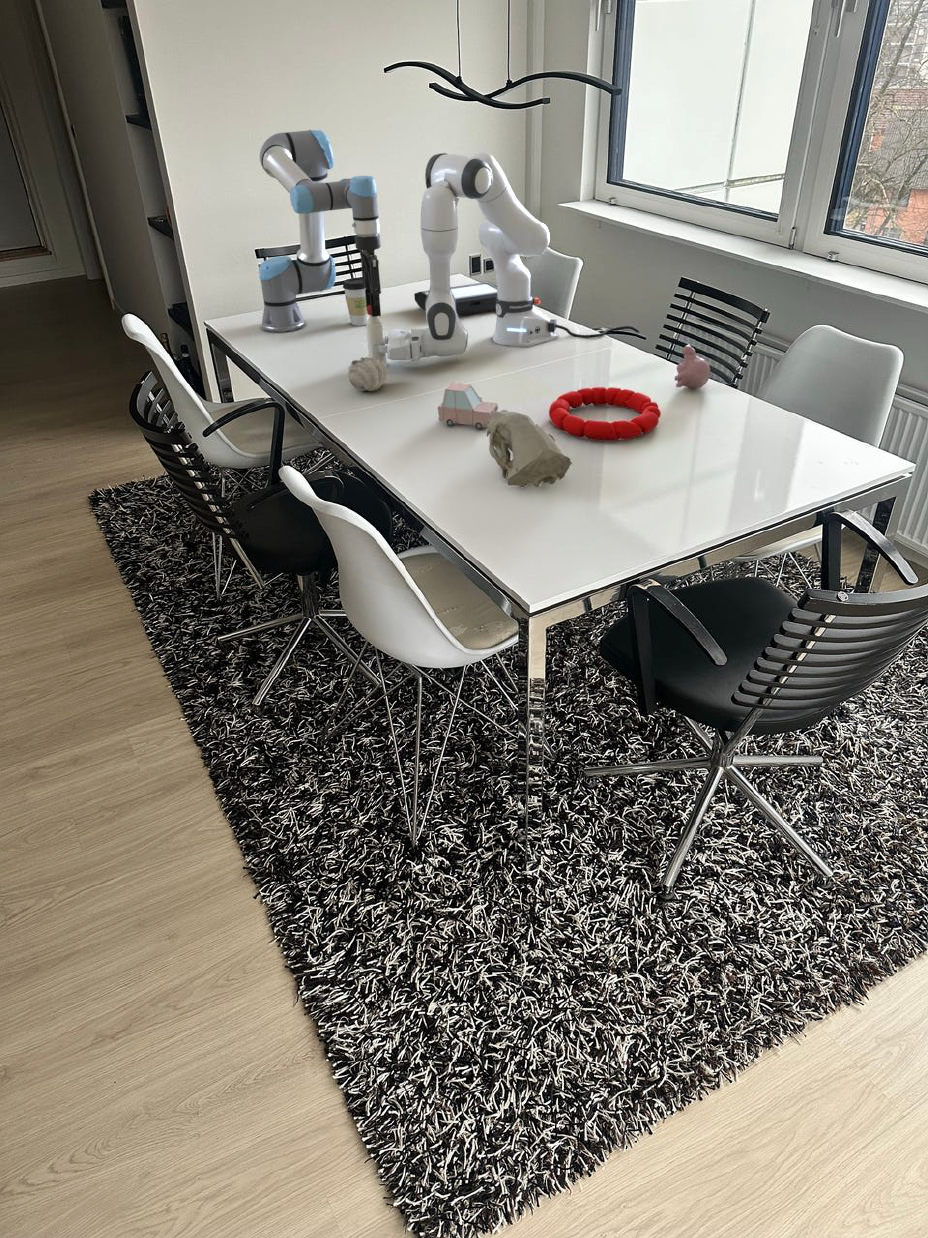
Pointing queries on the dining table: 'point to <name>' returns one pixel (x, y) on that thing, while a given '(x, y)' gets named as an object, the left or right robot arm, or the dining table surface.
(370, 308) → the cap
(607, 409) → the dining table surface
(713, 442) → the dining table surface
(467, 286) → the electronic device
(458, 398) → the toy car
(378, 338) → the bottle
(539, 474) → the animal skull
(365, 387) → the seashell
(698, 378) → the figurine
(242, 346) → the dining table surface
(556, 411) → the decorative ring
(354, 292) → the coffee cup
